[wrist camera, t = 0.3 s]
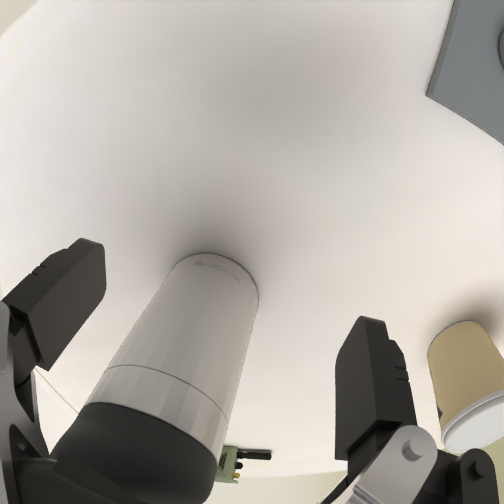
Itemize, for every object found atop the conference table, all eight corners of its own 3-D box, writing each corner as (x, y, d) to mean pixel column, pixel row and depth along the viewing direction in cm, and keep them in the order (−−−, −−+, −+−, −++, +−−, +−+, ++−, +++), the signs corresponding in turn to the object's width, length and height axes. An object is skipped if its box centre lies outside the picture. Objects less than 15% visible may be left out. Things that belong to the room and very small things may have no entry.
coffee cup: (404, 361, 32) (423, 450, 22) (458, 302, 28) (501, 390, 17) (453, 380, 33) (476, 457, 23) (503, 329, 29) (541, 405, 18)
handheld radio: (136, 431, 50) (270, 445, 45) (144, 440, 52) (273, 453, 46) (124, 460, 45) (265, 481, 39) (133, 467, 46) (268, 487, 41)
